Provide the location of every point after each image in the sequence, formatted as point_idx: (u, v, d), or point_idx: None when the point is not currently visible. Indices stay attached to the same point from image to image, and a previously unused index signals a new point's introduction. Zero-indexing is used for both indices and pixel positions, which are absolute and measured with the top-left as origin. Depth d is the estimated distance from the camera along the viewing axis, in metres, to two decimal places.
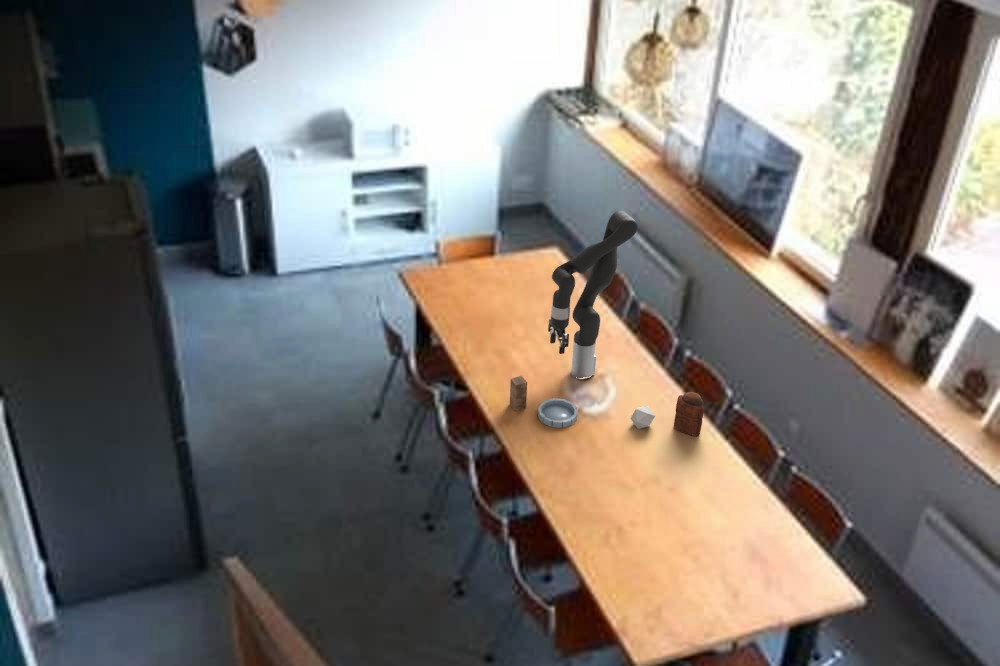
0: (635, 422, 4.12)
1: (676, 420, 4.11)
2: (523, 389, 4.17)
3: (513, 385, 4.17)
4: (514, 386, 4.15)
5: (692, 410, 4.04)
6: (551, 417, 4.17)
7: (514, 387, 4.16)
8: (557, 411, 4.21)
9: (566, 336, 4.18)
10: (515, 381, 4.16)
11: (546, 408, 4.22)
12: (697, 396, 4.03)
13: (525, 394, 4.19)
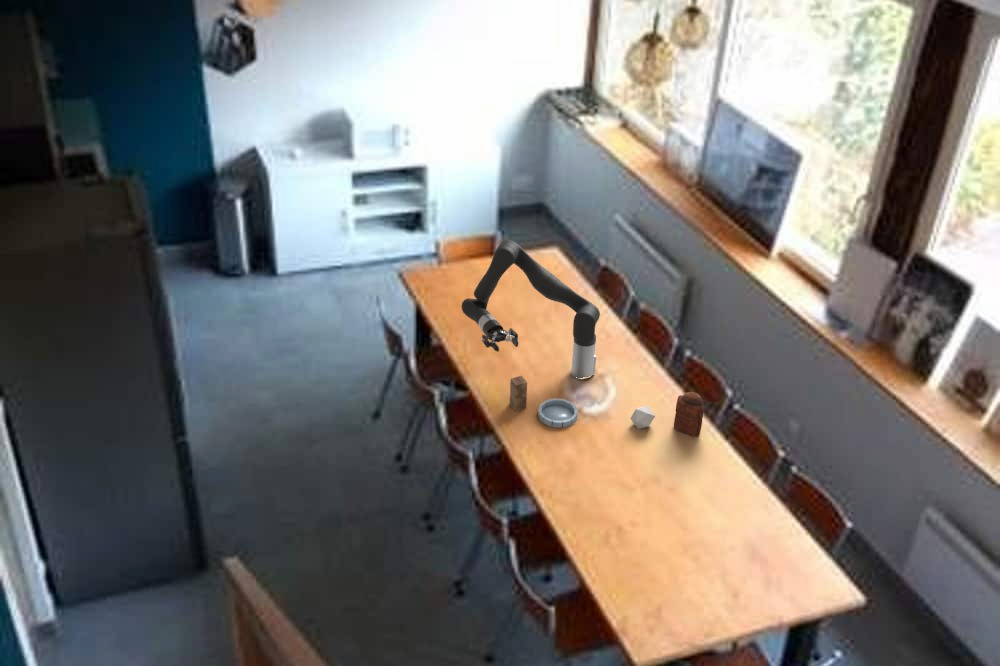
0: (635, 422, 4.12)
1: (676, 420, 4.11)
2: (523, 389, 4.17)
3: (513, 385, 4.17)
4: (514, 386, 4.15)
5: (692, 410, 4.04)
6: (551, 417, 4.17)
7: (514, 387, 4.16)
8: (557, 411, 4.21)
9: (482, 338, 4.24)
10: (515, 381, 4.16)
11: (546, 408, 4.22)
12: (697, 396, 4.03)
13: (525, 394, 4.19)
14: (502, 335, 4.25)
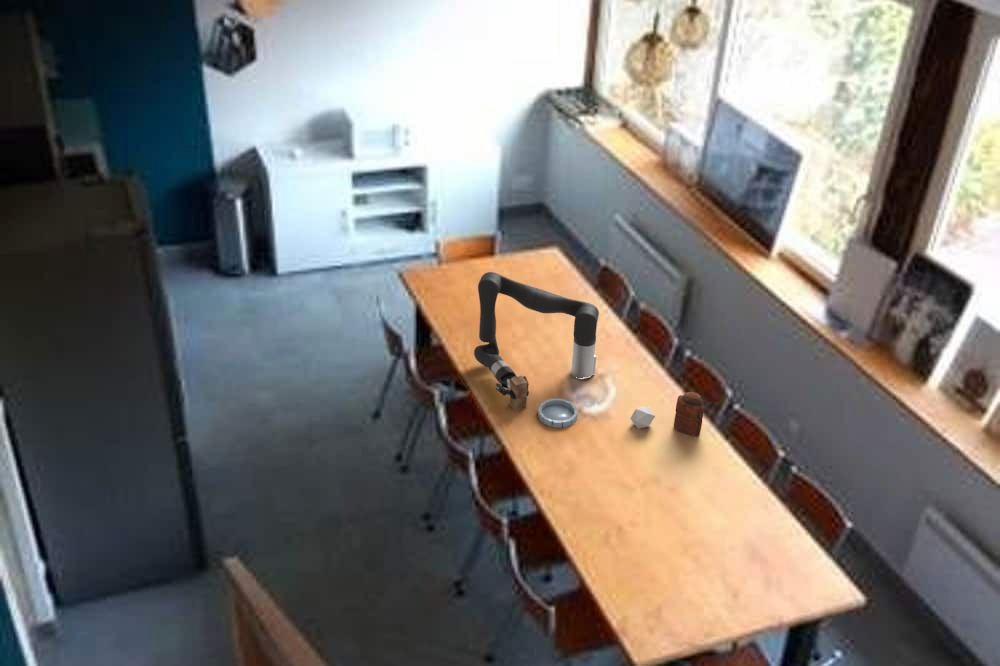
0: (635, 422, 4.12)
1: (676, 420, 4.11)
2: (523, 389, 4.17)
3: (513, 385, 4.17)
4: (514, 385, 4.15)
5: (692, 410, 4.04)
6: (551, 417, 4.17)
7: (514, 387, 4.16)
8: (557, 411, 4.21)
9: (496, 387, 4.23)
10: (515, 381, 4.16)
11: (546, 408, 4.22)
12: (697, 396, 4.03)
13: (525, 394, 4.19)
14: None
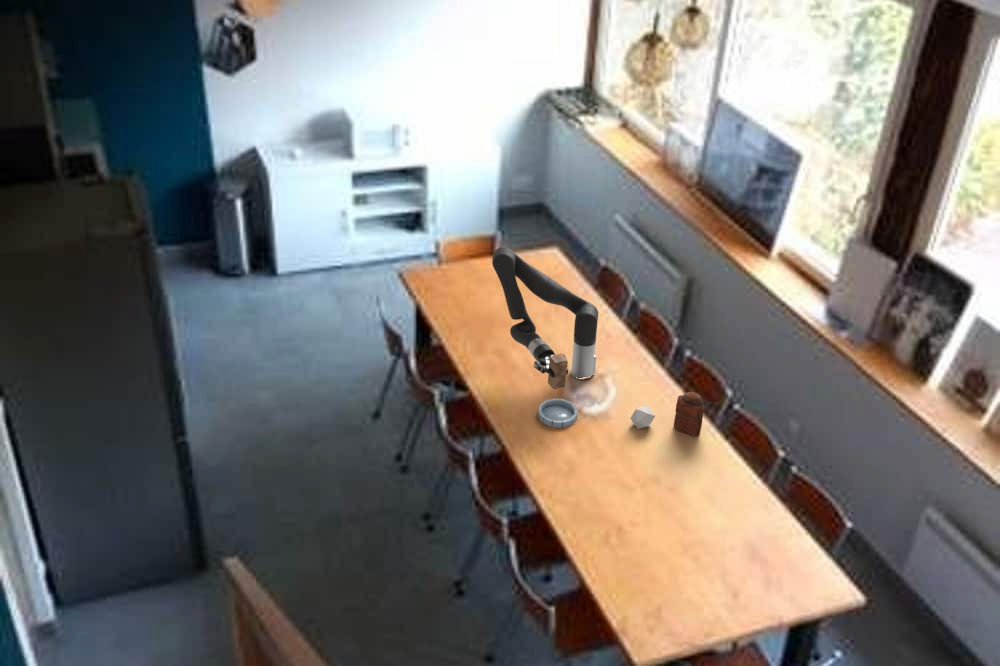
0: (635, 422, 4.12)
1: (676, 420, 4.11)
2: (562, 367, 4.04)
3: (552, 362, 4.04)
4: (554, 363, 4.03)
5: (692, 410, 4.04)
6: (551, 417, 4.17)
7: (553, 365, 4.04)
8: (557, 411, 4.21)
9: (534, 365, 4.10)
10: (554, 359, 4.03)
11: (546, 408, 4.22)
12: (697, 396, 4.03)
13: (564, 372, 4.06)
14: None
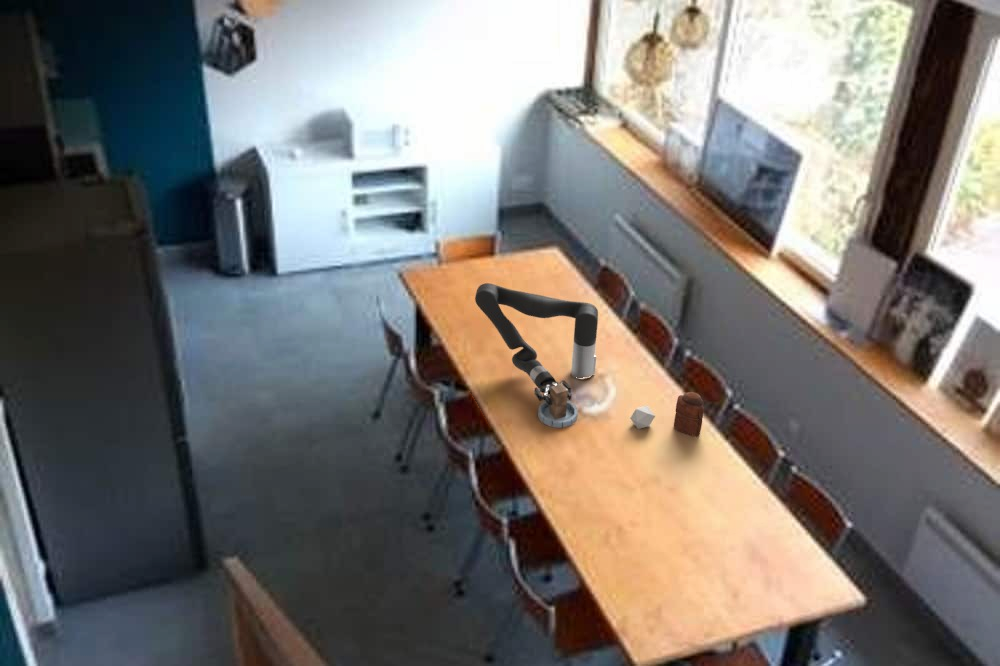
0: (635, 422, 4.12)
1: (676, 420, 4.11)
2: (563, 397, 4.12)
3: (553, 393, 4.12)
4: (555, 394, 4.10)
5: (692, 410, 4.04)
6: (551, 417, 4.17)
7: (554, 395, 4.11)
8: None
9: (534, 391, 4.18)
10: (555, 389, 4.11)
11: (546, 408, 4.22)
12: (697, 396, 4.03)
13: (565, 402, 4.14)
14: None
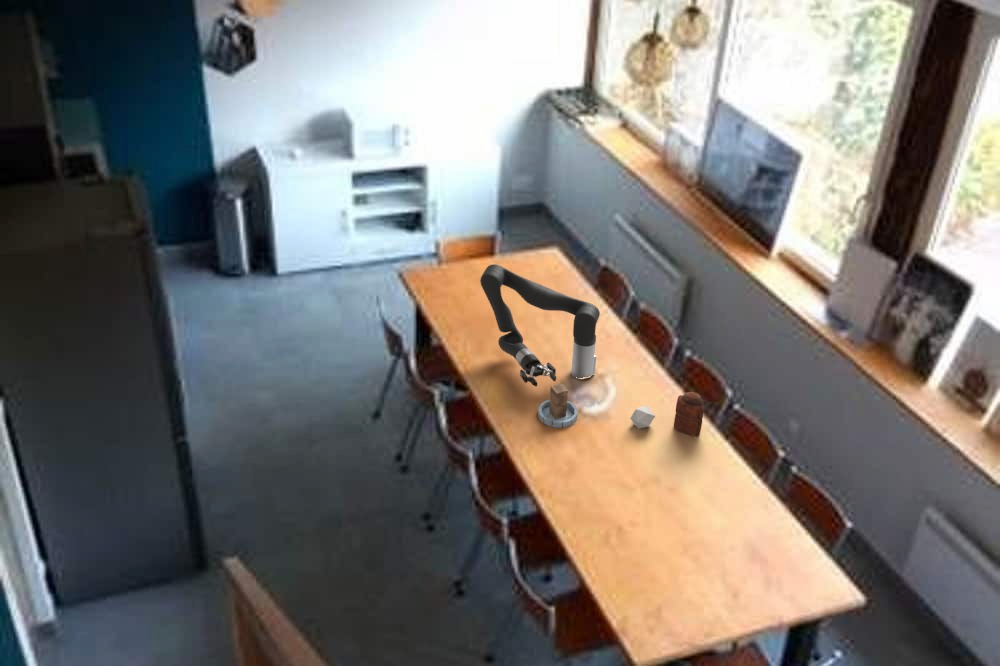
0: (635, 422, 4.12)
1: (676, 420, 4.11)
2: (563, 397, 4.12)
3: (553, 393, 4.12)
4: (555, 394, 4.10)
5: (692, 410, 4.04)
6: (551, 417, 4.17)
7: (555, 395, 4.11)
8: None
9: (520, 373, 4.27)
10: (555, 389, 4.11)
11: (546, 408, 4.22)
12: (697, 396, 4.03)
13: (565, 402, 4.14)
14: (540, 370, 4.28)
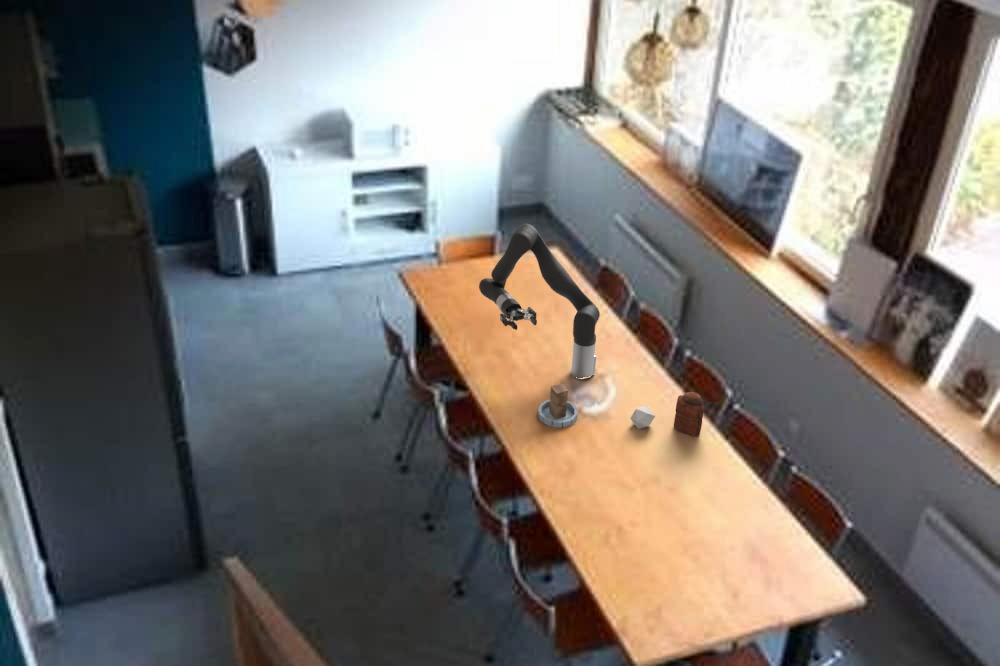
0: (635, 422, 4.12)
1: (676, 420, 4.11)
2: (563, 397, 4.12)
3: (553, 393, 4.12)
4: (555, 394, 4.10)
5: (692, 410, 4.04)
6: (551, 417, 4.17)
7: (555, 395, 4.11)
8: None
9: (500, 317, 4.20)
10: (555, 389, 4.11)
11: (546, 408, 4.22)
12: (697, 396, 4.03)
13: (565, 402, 4.14)
14: (520, 314, 4.21)
